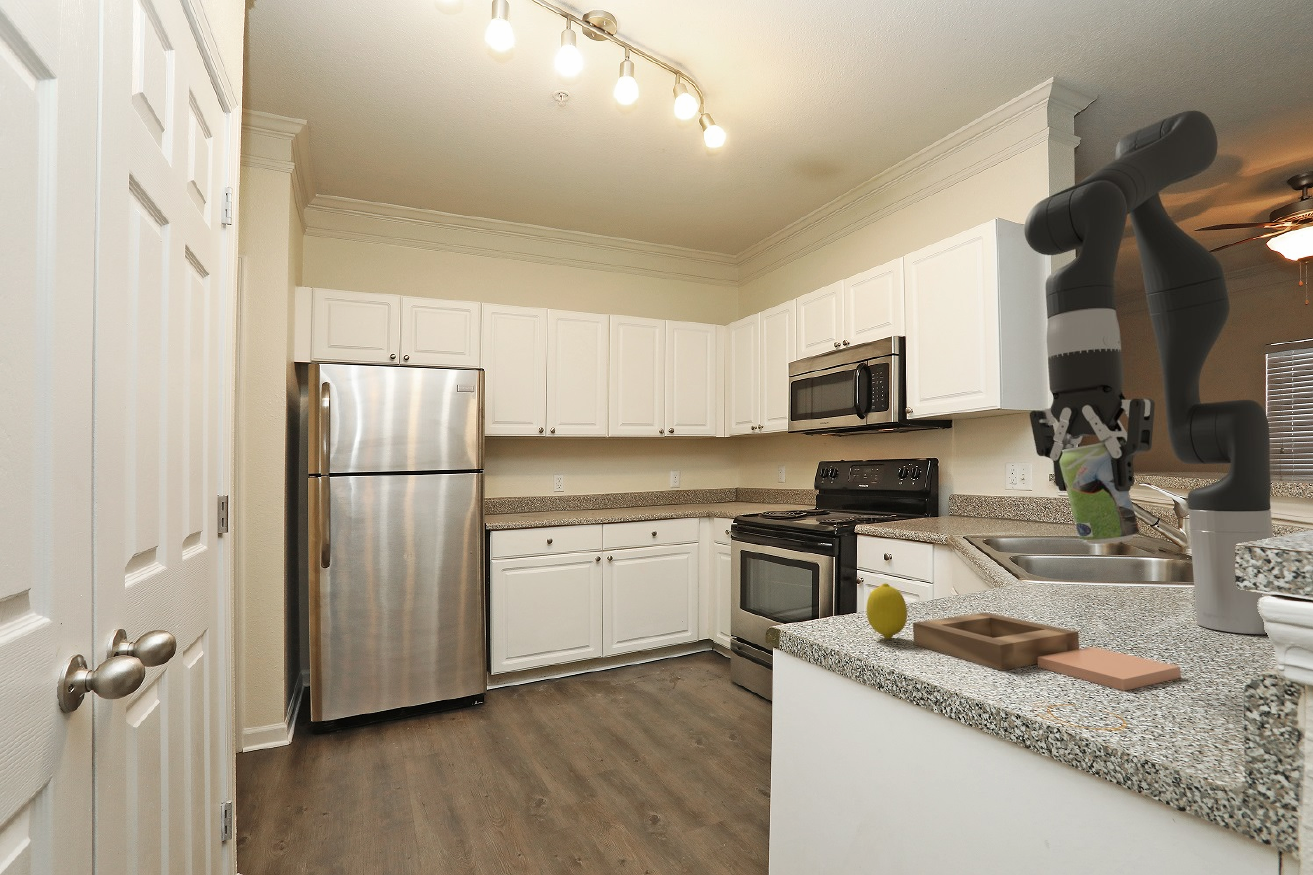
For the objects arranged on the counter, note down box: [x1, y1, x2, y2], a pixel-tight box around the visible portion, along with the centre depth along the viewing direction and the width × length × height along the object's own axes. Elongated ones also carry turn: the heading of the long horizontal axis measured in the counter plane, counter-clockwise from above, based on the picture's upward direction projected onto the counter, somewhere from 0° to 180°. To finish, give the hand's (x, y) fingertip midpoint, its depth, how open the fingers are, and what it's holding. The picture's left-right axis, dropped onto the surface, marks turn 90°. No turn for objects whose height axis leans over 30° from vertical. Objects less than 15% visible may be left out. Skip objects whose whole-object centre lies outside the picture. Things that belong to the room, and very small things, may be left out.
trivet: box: [1037, 646, 1182, 692], centre depth 77 cm, size 10×10×1 cm
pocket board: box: [912, 612, 1080, 672], centre depth 88 cm, size 14×14×3 cm
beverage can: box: [1060, 442, 1140, 545], centre depth 78 cm, size 6×7×12 cm
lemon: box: [866, 582, 908, 640], centre depth 95 cm, size 6×6×8 cm
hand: (1093, 490), depth 79 cm, fingers closed on beverage can, 6 cm apart
